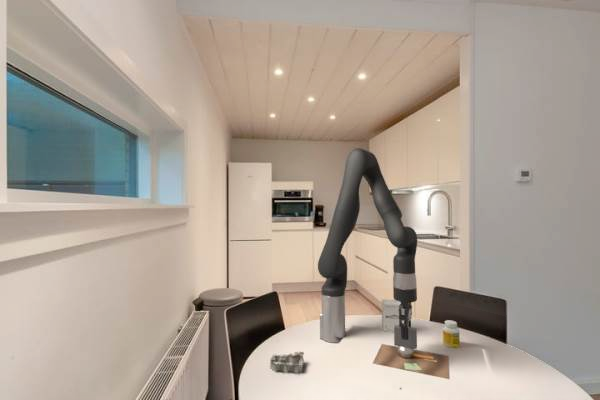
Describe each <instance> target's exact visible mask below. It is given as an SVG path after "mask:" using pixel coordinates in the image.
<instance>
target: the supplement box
mask: <svg viewBox="0 0 600 400" xmlns="http://www.w3.org/2000/svg"><path fill="white" fill-rule="evenodd" d="M400 304H401V302H399V301H396V300H395V299H388V298H387V299H386V298H381V330H382V331H384V332H390V333H394V326H395V325H399V306H400Z"/></svg>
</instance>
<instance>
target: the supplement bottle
mask: <svg viewBox="0 0 600 400" xmlns="http://www.w3.org/2000/svg"><path fill="white" fill-rule="evenodd" d="M442 339H443V342H442V344H443V345H444V346H446V347H448V348H451V349H458V348H460V346H461V345H460V343H461V342H460V341H461V340H460V329H459V328H458V322H456V321H455V320H448V319H446V320H445V321H444V326H443V328H442Z"/></svg>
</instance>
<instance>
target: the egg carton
mask: <svg viewBox="0 0 600 400" xmlns="http://www.w3.org/2000/svg"><path fill="white" fill-rule="evenodd" d="M304 354H305V353H304V351H295V352H294V353H289V354H288V353H287V354H285V353H283V354H274V353H273V354H272V356H271V358H270V359H269V361H270V362H269V363H270V364H269V365H270V366H269V367H270V369H272V370H271V371H272V372H273V371H275V372H274V373H277V372H279V371H281V370H283V371H284V372H287V373H288V371H289V372H293V371H294V372H293V373H294V374H299V373H301V372H303V367H304V362H305V360H304V356H305V355H304ZM275 362H276V363H275ZM270 369H269V370H270ZM278 370H279V371H278ZM276 371H277V372H276ZM283 371H282V372H283ZM284 372H283V373H284ZM298 372H299V373H298Z"/></svg>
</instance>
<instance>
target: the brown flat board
mask: <svg viewBox="0 0 600 400" xmlns="http://www.w3.org/2000/svg"><path fill="white" fill-rule="evenodd" d="M414 353H415V354H421V355H426V356H432V357H433V360H432V359H427V358H421V357H416V356H414V357H413V358H409V359H407V358H402V357H400V356H399V355H398V346H395V345H390V344H385V343H382V344H381V345H380V347H379V349H378V351H377V353H376V354H375V357H374V359H373V362H372V364H373V365H378V366H383V367H386V368H387V367H388V368H394V369H397V370H402V371H408V372H412V373H417V374H422V375H427V376H432V377H436V378H442V379H447V380H450V361H449V359H450V358H449V357H450V356H449V355H448V354H442V353H441V354H440V353H434V352H429V351H424V350H419V349H414Z"/></svg>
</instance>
